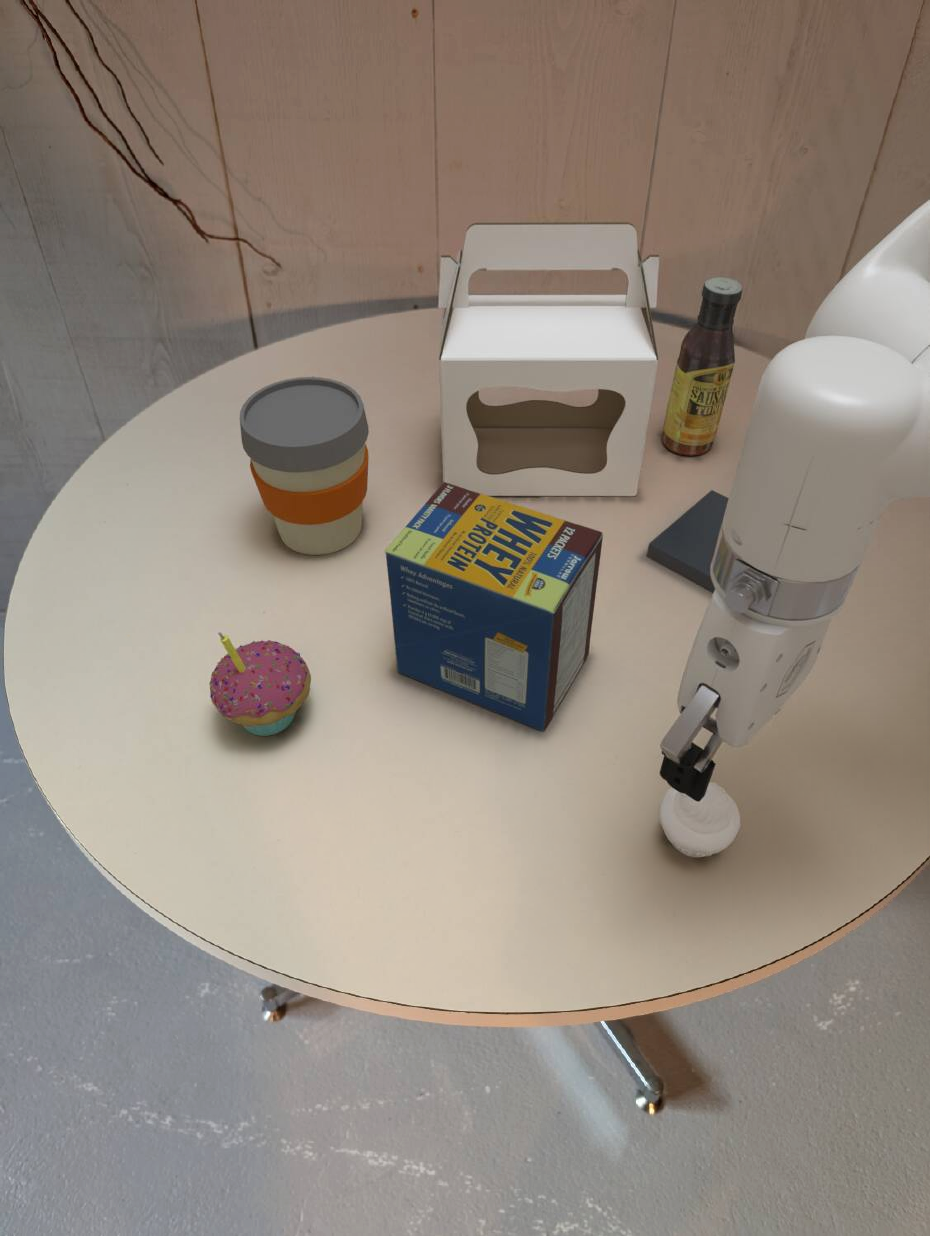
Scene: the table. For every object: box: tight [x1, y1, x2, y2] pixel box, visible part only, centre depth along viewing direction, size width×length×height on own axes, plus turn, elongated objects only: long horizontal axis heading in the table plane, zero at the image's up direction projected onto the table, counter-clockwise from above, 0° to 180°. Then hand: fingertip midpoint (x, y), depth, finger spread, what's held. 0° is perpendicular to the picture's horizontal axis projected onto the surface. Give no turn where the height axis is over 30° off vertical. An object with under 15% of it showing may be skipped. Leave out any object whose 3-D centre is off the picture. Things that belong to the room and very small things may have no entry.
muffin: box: [658, 781, 741, 858], centre depth 70 cm, size 6×6×7 cm
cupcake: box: [208, 631, 312, 737], centre depth 77 cm, size 9×8×12 cm
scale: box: [646, 489, 729, 594], centre depth 94 cm, size 15×12×4 cm
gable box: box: [437, 221, 660, 497], centre depth 97 cm, size 22×13×28 cm, turn 89°
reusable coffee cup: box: [239, 376, 370, 556], centre depth 94 cm, size 12×13×15 cm
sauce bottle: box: [661, 276, 743, 457], centre depth 102 cm, size 7×6×20 cm
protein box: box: [384, 482, 604, 732], centre depth 80 cm, size 10×15×16 cm
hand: (720, 743), depth 63 cm, fingers open, 9 cm apart
